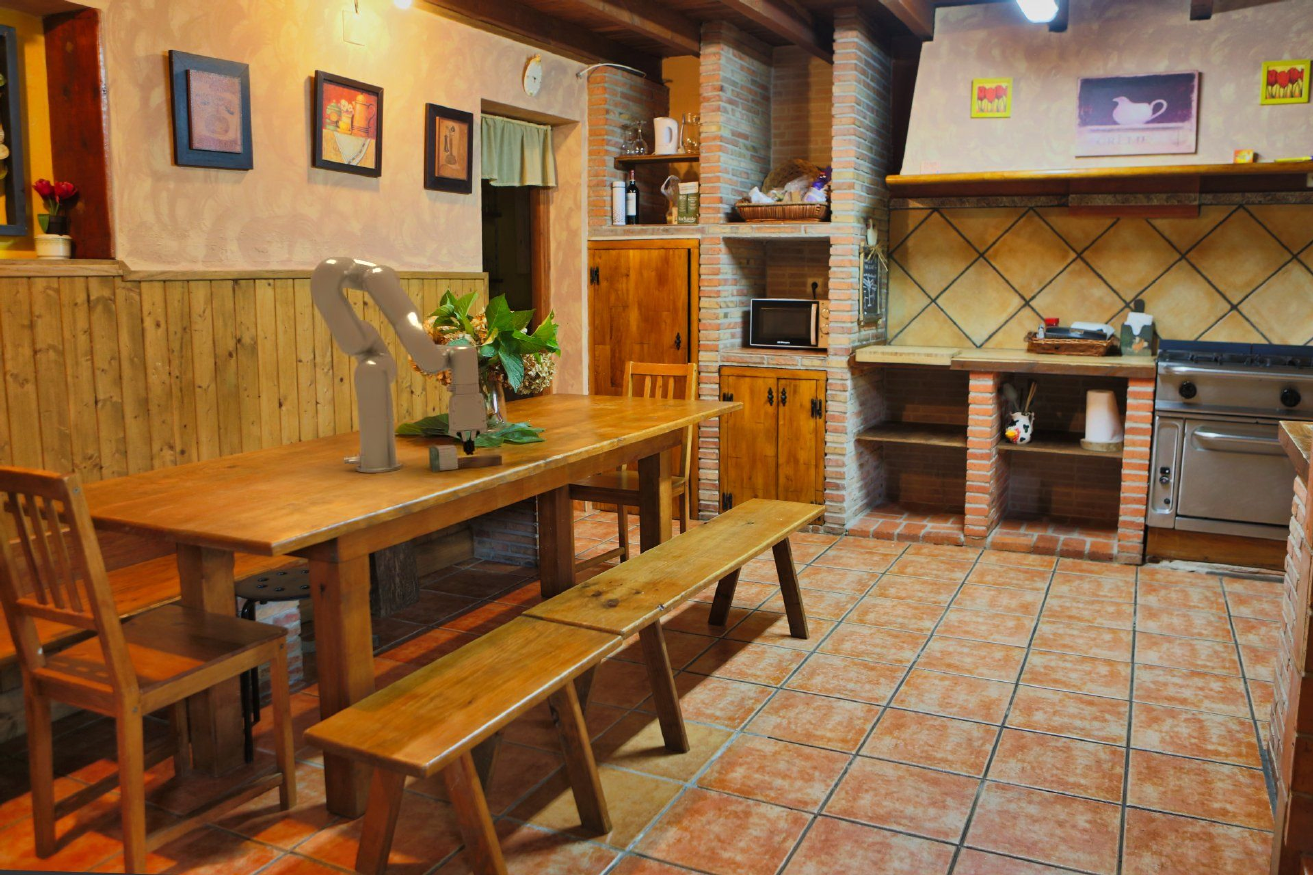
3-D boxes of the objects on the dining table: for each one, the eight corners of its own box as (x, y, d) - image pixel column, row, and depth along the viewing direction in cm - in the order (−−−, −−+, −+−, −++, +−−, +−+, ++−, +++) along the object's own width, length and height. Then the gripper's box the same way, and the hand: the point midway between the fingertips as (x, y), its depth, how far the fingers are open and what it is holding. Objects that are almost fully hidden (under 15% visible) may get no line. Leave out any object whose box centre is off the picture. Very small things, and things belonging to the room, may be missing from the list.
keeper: (439, 470, 287) (438, 449, 286) (436, 466, 293) (435, 445, 292) (458, 469, 289) (457, 448, 288) (453, 464, 295) (453, 444, 294)
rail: (434, 472, 286) (433, 450, 285) (429, 466, 293) (428, 445, 292) (504, 466, 292) (503, 445, 291) (498, 461, 300) (497, 440, 299)
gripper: (440, 393, 283) (444, 459, 286) (494, 389, 288) (498, 454, 291) (436, 390, 290) (440, 454, 293) (489, 386, 295) (492, 449, 298)
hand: (469, 454), depth 292 cm, fingers closed
